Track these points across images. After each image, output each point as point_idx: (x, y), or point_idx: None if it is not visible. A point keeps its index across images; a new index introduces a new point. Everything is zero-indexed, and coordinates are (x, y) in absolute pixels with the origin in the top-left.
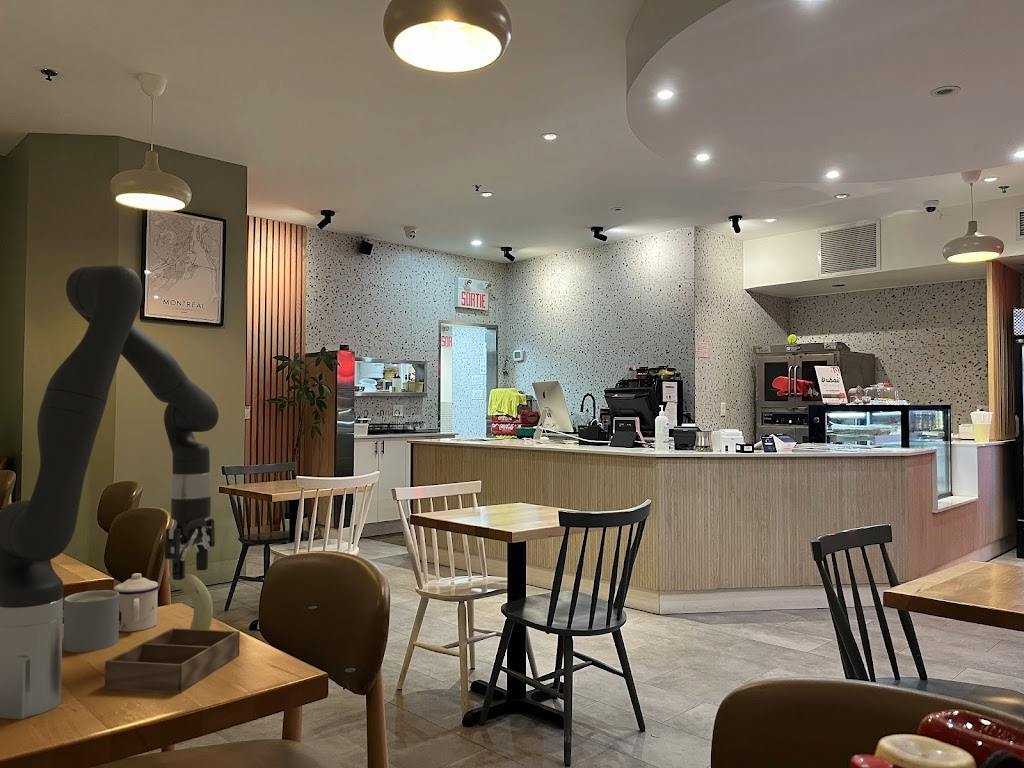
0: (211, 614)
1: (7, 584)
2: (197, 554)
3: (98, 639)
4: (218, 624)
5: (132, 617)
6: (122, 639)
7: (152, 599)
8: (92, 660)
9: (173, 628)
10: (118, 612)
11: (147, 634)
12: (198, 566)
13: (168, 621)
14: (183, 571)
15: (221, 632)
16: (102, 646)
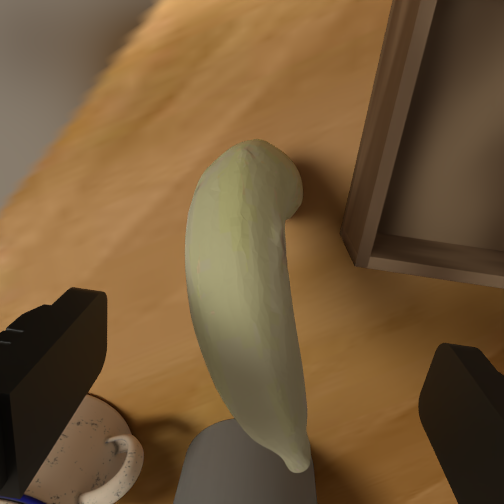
0: (258, 141)
1: None
2: (35, 467)
3: None
4: (6, 208)
5: (114, 458)
6: (198, 420)
7: None
8: (381, 416)
9: (357, 261)
10: (217, 497)
11: (146, 378)
12: (92, 366)
13: None
14: (498, 383)
15: (432, 13)
16: None
